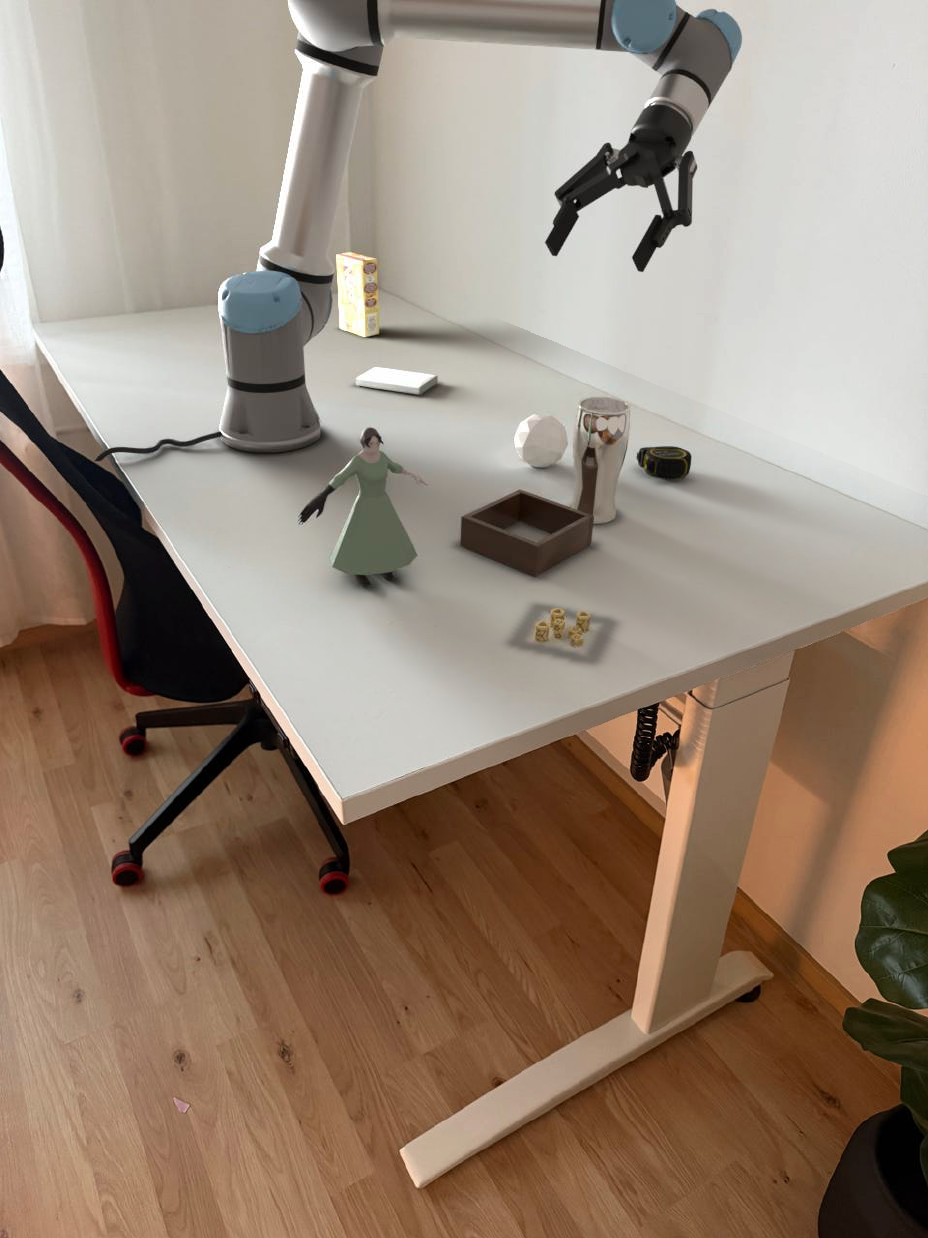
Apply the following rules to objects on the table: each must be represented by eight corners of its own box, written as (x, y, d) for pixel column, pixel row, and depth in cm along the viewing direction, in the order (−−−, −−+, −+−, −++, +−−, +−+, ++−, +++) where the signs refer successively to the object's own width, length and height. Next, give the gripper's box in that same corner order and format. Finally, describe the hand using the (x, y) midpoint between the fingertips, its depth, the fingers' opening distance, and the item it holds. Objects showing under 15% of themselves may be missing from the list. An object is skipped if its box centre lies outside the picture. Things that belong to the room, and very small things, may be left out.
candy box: (380, 334, 200) (378, 258, 192) (364, 337, 197) (362, 260, 189) (353, 326, 205) (351, 251, 197) (338, 329, 203) (335, 253, 195)
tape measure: (678, 465, 141) (682, 441, 139) (695, 483, 136) (700, 458, 134) (634, 467, 140) (637, 443, 138) (650, 485, 134) (654, 460, 133)
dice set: (532, 641, 99) (533, 626, 98) (546, 618, 103) (547, 603, 102) (579, 652, 97) (581, 636, 96) (591, 628, 101) (593, 612, 100)
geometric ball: (534, 476, 143) (543, 425, 144) (573, 473, 137) (583, 420, 138) (498, 460, 138) (508, 408, 139) (538, 457, 132) (548, 402, 133)
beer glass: (617, 528, 122) (631, 416, 114) (563, 522, 123) (573, 410, 116) (620, 506, 128) (633, 398, 120) (569, 501, 129) (579, 393, 121)
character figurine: (318, 612, 102) (308, 455, 93) (288, 580, 108) (277, 429, 99) (445, 578, 109) (448, 430, 100) (410, 550, 115) (410, 407, 106)
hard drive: (419, 396, 166) (356, 386, 170) (437, 383, 172) (376, 373, 176) (419, 387, 165) (355, 377, 169) (437, 374, 171) (376, 365, 175)
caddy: (535, 577, 110) (537, 546, 108) (460, 545, 117) (461, 516, 115) (591, 544, 118) (594, 515, 116) (518, 517, 124) (519, 488, 122)
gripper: (760, 152, 122) (684, 290, 120) (598, 137, 135) (528, 261, 133) (748, 106, 116) (668, 251, 113) (580, 95, 129) (506, 224, 127)
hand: (592, 257), depth 123 cm, fingers open, 13 cm apart
